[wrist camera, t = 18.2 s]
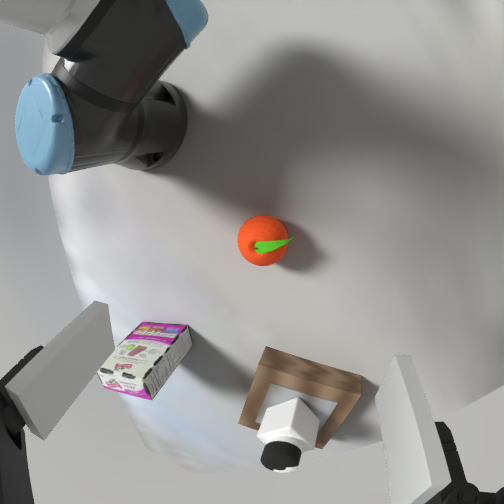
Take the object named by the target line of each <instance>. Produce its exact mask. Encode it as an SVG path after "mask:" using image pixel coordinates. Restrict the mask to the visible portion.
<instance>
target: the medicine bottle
mask: <svg viewBox="0 0 504 504" xmlns="http://www.w3.org/2000/svg"><path fill="white" fill-rule="evenodd" d="M319 421H320V419H319V418H318V417H317V416H316V415H315V414H314V413H313V412H312V411H311V410H310V409H309V408H308V407H307V406H306V404H305V403H304V402H303V401H302V400H301V399H300V398H299V397H297V398H294V399H291V400H289V401H286V402H283V403H280V404H278V405H275V406H272V407H269V408H267V409H266V412H265V415H264V418H263V420H262V423H261V426H260V428H259V431H258V434H257V437H258V438H259V439H260V440H261V441H262V442H264V443H265V444H266V445H265V448H264V451H263V453H262V456H261V462H262V464H263V465H264V466H265V467H266V468H268V469H270V470H272V471H275V472H281V473H287V472H292V471H294V470H296V469H297V468H298V466H299V462H300V458H301V454H302V452H304V451H308V450H312V449H314V447H315V442H316V437H317V432H318V427H319Z"/></svg>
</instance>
